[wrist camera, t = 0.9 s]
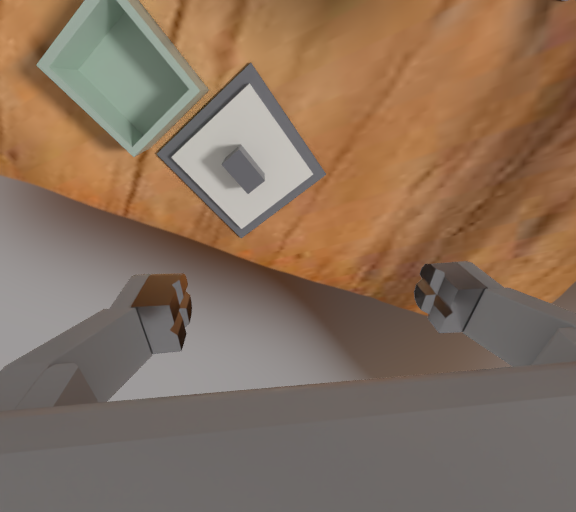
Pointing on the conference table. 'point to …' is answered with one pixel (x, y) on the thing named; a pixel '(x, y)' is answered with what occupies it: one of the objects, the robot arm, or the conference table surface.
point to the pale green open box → (123, 72)
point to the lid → (243, 159)
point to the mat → (213, 109)
